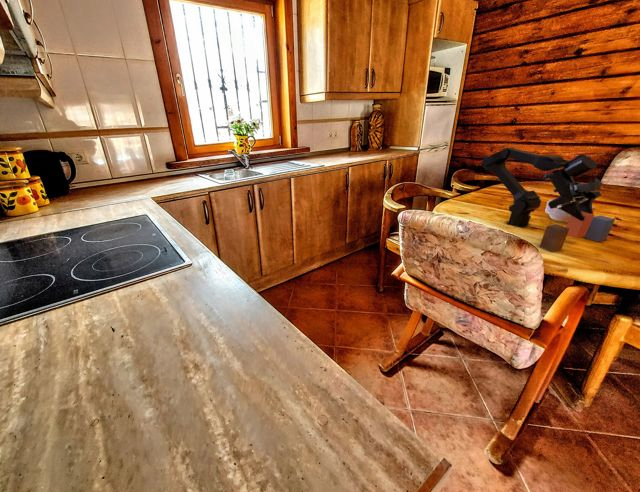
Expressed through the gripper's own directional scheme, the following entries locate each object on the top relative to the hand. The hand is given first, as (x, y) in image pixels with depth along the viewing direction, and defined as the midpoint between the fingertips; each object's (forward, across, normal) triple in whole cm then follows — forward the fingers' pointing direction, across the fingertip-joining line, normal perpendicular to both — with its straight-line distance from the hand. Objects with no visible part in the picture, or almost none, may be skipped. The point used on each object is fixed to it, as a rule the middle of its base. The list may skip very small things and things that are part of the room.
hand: (587, 219), depth 103 cm
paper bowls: (-6, +24, +22) cm, 33 cm away
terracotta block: (+4, 0, +7) cm, 8 cm away
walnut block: (+7, -12, +8) cm, 16 cm away
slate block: (+7, +12, +8) cm, 16 cm away
